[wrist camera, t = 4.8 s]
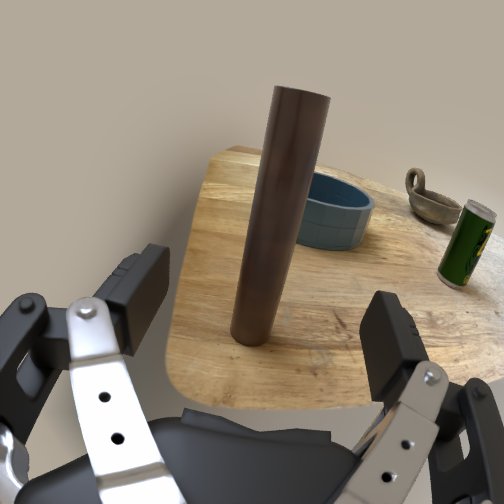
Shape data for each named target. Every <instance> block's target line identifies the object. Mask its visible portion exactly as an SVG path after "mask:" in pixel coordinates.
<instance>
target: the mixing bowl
mask: <svg viewBox="0 0 504 504" xmlns="http://www.w3.org/2000/svg"><path fill="white" fill-rule="evenodd" d="M374 207H375V203H374V200H373V199H372V198H371V197H370V196H369V195H368V194H367V193H366V192H364V191H363V190H361V189H360V188H358V187H356V186H354V185H352V184H350V183H348V182H345V181H343V180H340V179H337V178H335V177H332V176H329V175H325V174H322V173H318V172H314V174H313V178H312V182H311V186H310V190H309V194H308V198H307V202H306V206H305V210H304V214H303V218H302V221H301V225H300V229H299V233H298V237H297V240H296V243H299V244H302V245H306V246H310V247H314V248H319V249H325V250H348V249H353V248H355V247H357V246H359V245H360V244H361V242H362V240H363V238H364V236H365V233H366V230H367V228H368V225H369V221H370V219H371V216H372V213H373V210H374Z"/></svg>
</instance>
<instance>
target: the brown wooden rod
mask: <svg viewBox="0 0 504 504" xmlns="http://www.w3.org/2000/svg"><path fill="white" fill-rule="evenodd" d="M330 99H331V98H330V97H327V96H324V95H321V94H317V93H313V92H309V91H304V90H300V89H295V88H289V87H283V86H274V92H273V97H272V102H271V107H270V112H269V118H268V123H267V128H266V134H265V139H264V145H263V150H262V155H261V160H260V166H259V171H258V177H257V182H256V187H255V193H254V198H253V204H252V209H251V215H250V220H249V226H248V231H247V237H246V242H245V248H244V253H243V259H242V265H241V270H240V276H239V282H238V287H237V293H236V298H235V304H234V310H233V316H232V321H231V327H230V332H231V335H232V336H233V338H234V339H235V340H236V341H238V342H239V343H241V344H244V345H248V346H258V345H261V344H263V343H265V342H266V341H267V340H268V338H269V336H270V332H271V329H272V326H273V322H274V319H275V315H276V312H277V309H278V305H279V302H280V298H281V295H282V291H283V288H284V284H285V281H286V277H287V273H288V270H289V266H290V263H291V259H292V255H293V252H294V248H295V244H296V240H297V237H298V233H299V229H300V225H301V221H302V218H303V214H304V210H305V206H306V202H307V198H308V194H309V190H310V186H311V182H312V178H313V174H314V169H315V165H316V161H317V157H318V153H319V148H320V144H321V140H322V135H323V131H324V127H325V122H326V118H327V113H328V108H329V104H330Z"/></svg>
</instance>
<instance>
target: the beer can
mask: <svg viewBox="0 0 504 504" xmlns="http://www.w3.org/2000/svg"><path fill="white" fill-rule="evenodd" d="M496 216H497V215H496V213H494V212H493V211H492V210H490V209H489V208H487V207H485V206H484V205H482V204H480V203H478V202H476V201H473V200H470V199H468V202H467V204H465V205H464V208H463V211H462V213H461V216H460V218H459V221H458V223H457V226H456V228H455V231H454V233H453V235H452V238H451V240H450V242H449V245H448V247H447V249H446V251H445V254H444V256H443V258H442V260H441V262H440V264H439V266H438V277H439V278H440V279H441V281H443V282H444V283H445V284H446V285H448V286H450V287H452V288H454V289H462V288H463V287H465V286H466V284H467V282H468V280H469V278H470V276H471V275H472V273H473V271H474V269H475V267H476V265H477V263H478V261H479V259H480V256H481V254H482V252H483V250H484V248H485V246H486V243H487V241H488V239H489V237H490V234H491V232H492V230H493V227H494V225H495V222H496V221H495V217H496Z"/></svg>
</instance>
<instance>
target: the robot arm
mask: <svg viewBox="0 0 504 504" xmlns="http://www.w3.org/2000/svg"><path fill="white" fill-rule="evenodd" d="M169 260H170V251H169V247H165V246H160V245H156V244H151V243H150V244H148V246H147V247H146V248H145V249H144V250H143V251H142V253H141V254H136V253H134V254H132V255H130V256H129V257H127V258H125V259H123V261H122V262H121V263H120V264H119V265H118V266H117V268H116V269H115V270H114V271H113V272H112V275H110V276H109V277H108V278H107V280H106V281H105V282H104V283H103V284H102V285H101V287H100V288H99V289H98V290H97V291H96V293H95V294H94V295H93V296H92V297H84V298H81V299H78V300H76V301H74V302H73V303H71V304H70V306H69V307H68V308H52V307H47V305H46V301H45V299H44V297H43V296H41V295H39V294H37V293H26V294H23V295H21V296H19V297H17V298H16V299H15V300H14V301H13V302H12V303H11V305H9V307H8V308H7V309H6V310H5V311H4V313H3V314H2V315H1V316H0V504H403V502H404V500H405V498H406V497H407V495H408V493H409V492H410V490H411V488H412V486H413V484H414V482H415V481H416V478H417V477H418V475H419V473H420V471H421V469H422V467H423V465H424V463H425V461H426V458H427V456H428V462H429V471H430V480H431V491H432V504H504V426H503V423H502V420H501V417H500V414H499V411H498V408H497V405H496V402H495V399H494V396H493V393H492V391H491V389H490V387H489V386H488V385H487V384H486V383H485V382H484V381H483V380H481V379H479V378H471V379H469V380H468V381H467V383H466V384H465V385H464V386H461V385H458V384H455V383H452V382H449V379H448V376H447V374H446V372H445V371H444V369H443V368H442V367H440V366H439V365H438V364H436V363H434V362H431V361H429V358H428V355H427V352H426V350H425V347H424V345H423V342H422V340H421V337H420V336H419V332H418V330H417V328H416V325H415V322H414V320H413V318H412V316H411V315H410V314H409V313H408V311H407V310H406V309H405V308H402V306H401V304H400V301H399V299H398V297H397V295H396V294H395V293H390V292H385V291H379V290H378V291H376V293H375V294H374V296H373V298H372V300H371V302H370V304H369V307H368V309H367V311H366V313H365V315H364V317H363V319H362V321H361V324H360V330H359V334H360V340H361V344H362V349H363V354H364V359H365V365H366V370H367V375H368V381H369V387H370V392H371V398H372V401H375V402H383V403H384V407H383V408H382V409H381V410H380V412H379V413H378V415H377V416H376V418H375V419H374V421H373V422H372V424H371V425H370V427H369V428H368V429H367V431H366V432H365V434H364V435H363V436H362V438H361V439H360V441H359V442H358V443H357V444H356V446H355V447H354V448H353V449H352V450H351V451H350V450H349V449H347V448H346V447H344V446H342V445H340V444H337V443H335V442H331V431H319V430H308V429H298V428H296V429H286V430H276V431H264V432H259V431H255V430H252V429H250V428H247V427H244V426H242V425H240V424H237V423H235V422H233V421H230V420H228V419H226V418H224V417H221V416H216V415H212V414H208V413H204V412H199V411H195V410H191V409H187V408H184V411H183V414H182V417H166V418H160V419H156V420H152V421H149V422H146V420H145V417H144V415H143V412H142V410H141V407H140V404H139V402H138V399H137V396H136V394H135V391H134V388H133V385H132V383H131V380H130V377H129V374H128V371H127V368H126V365H125V361H124V358H123V356H122V355H123V354H126V355H129V356H134V354H135V352H136V351H137V349H138V346H139V345H140V343H141V341H142V339H143V337H144V335H145V333H146V331H147V330H148V328H149V326H150V324H151V322H152V320H153V318H154V316H155V314H156V313H157V311H158V308H159V307H160V305H161V304H162V302H163V300H164V298H165V296H166V294H167V291H168V286H169V264H170V261H169ZM27 352H28V354H27ZM26 354H27V356H26V357H25V359H24V360H23V358H24V356H25V355H26ZM22 360H23V362H22V363H21V361H22ZM20 363H21V365H20V367H19V368H18V366H19V364H20ZM17 368H18V370H17ZM62 370H69V371H70V377H71V383H72V389H73V394H74V398H75V404H76V408H77V412H78V417H79V421H80V426H81V430H82V433H83V437H84V441H85V444H86V448H87V451H88V453H87V454H85V455H83V456H81V457H80V458H77V459H75V460H73V461H71V462H69V463H67V464H65V465H63V466H61V467H59V468H57V469H54V470H52V471H50V472H47V473H45V474H43V475H41V476H38V477H36V478H34V479H32V480H30V481H29V480H28V474H27V472H28V471H29V454H28V451H27V449H26V447H25V444H26V441H27V439H28V437H29V435H30V433H31V431H32V429H33V426H34V424H35V422H36V420H37V418H38V416H39V414H40V412H41V410H42V408H43V406H44V404H45V402H46V400H47V398H48V396H49V394H50V392H51V390H52V389H53V386H54V384H55V383H56V381H57V379H58V377H59V375H60V374H61V372H62ZM465 429H466V431H467V435H468V440H469V444H470V451H469V454H468V456H467V458H466V459H465V460H464V457H463V452H462V447H461V442H460V437H459V434H460V433H461V432H463V431H464V430H465Z"/></svg>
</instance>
